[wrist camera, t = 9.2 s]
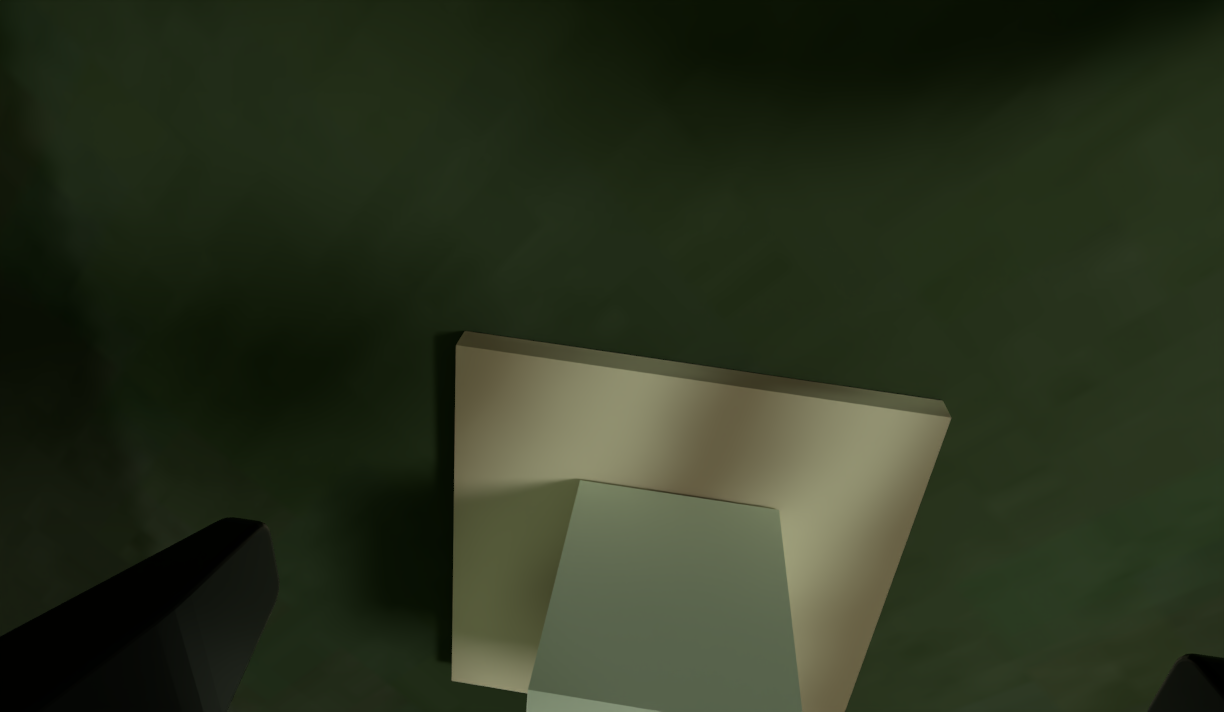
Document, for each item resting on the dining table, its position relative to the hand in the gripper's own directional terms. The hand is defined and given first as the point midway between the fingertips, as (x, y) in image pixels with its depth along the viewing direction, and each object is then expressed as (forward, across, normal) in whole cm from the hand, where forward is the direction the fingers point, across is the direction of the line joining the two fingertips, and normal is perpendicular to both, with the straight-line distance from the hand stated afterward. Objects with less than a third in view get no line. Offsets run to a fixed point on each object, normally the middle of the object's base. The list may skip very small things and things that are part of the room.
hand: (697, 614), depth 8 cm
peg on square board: (+12, 0, +10) cm, 15 cm away
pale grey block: (+11, 0, +10) cm, 14 cm away
